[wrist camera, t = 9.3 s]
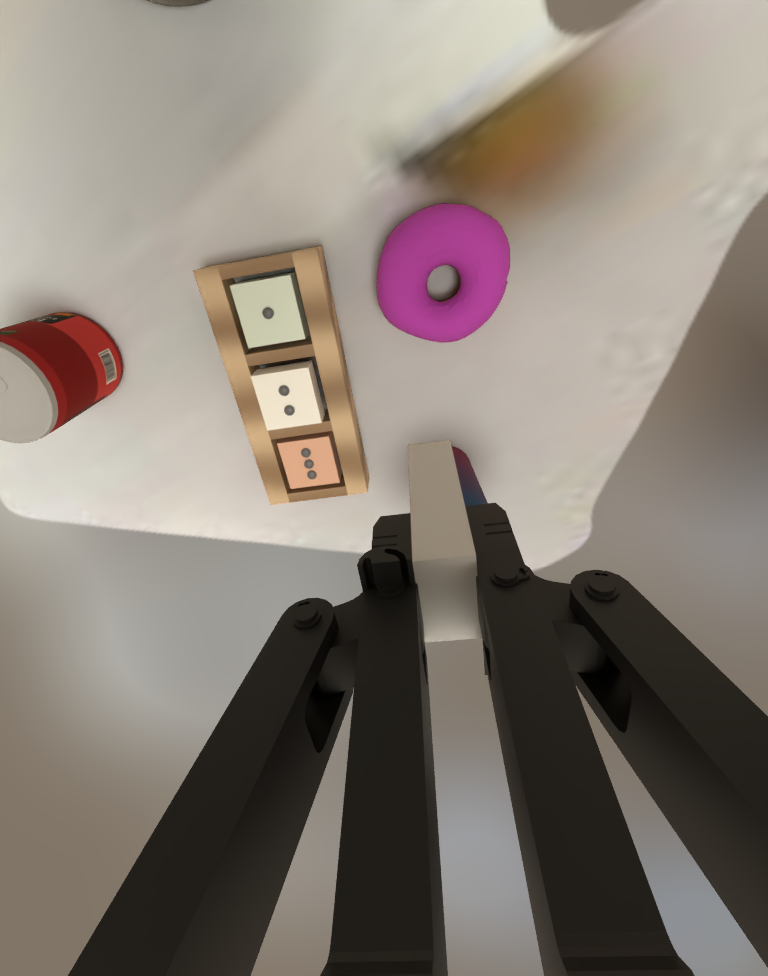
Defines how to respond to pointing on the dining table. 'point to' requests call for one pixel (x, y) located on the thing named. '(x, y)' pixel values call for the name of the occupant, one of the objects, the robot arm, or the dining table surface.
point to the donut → (437, 242)
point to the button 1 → (270, 310)
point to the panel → (247, 360)
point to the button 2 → (288, 395)
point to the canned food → (53, 373)
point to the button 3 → (310, 459)
